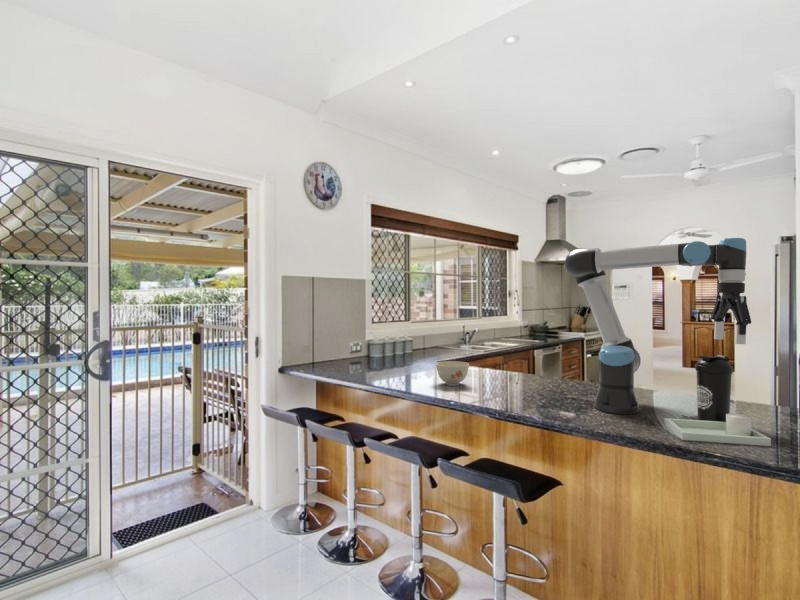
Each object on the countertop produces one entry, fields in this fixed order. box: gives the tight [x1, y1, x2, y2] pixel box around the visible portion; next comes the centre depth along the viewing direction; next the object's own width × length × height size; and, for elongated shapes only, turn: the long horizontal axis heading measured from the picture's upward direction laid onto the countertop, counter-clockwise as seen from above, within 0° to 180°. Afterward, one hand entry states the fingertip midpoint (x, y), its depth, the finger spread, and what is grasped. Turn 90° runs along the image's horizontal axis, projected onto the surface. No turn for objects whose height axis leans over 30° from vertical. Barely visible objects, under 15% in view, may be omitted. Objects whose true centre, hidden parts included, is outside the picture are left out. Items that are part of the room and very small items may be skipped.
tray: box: [663, 417, 772, 447], centre depth 130 cm, size 22×15×3 cm
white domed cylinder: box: [726, 412, 752, 436], centre depth 128 cm, size 6×6×6 cm
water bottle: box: [694, 354, 734, 422], centre depth 142 cm, size 10×10×23 cm
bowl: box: [435, 360, 470, 387], centre depth 206 cm, size 16×16×10 cm
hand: (729, 341), depth 151 cm, fingers open, 13 cm apart
